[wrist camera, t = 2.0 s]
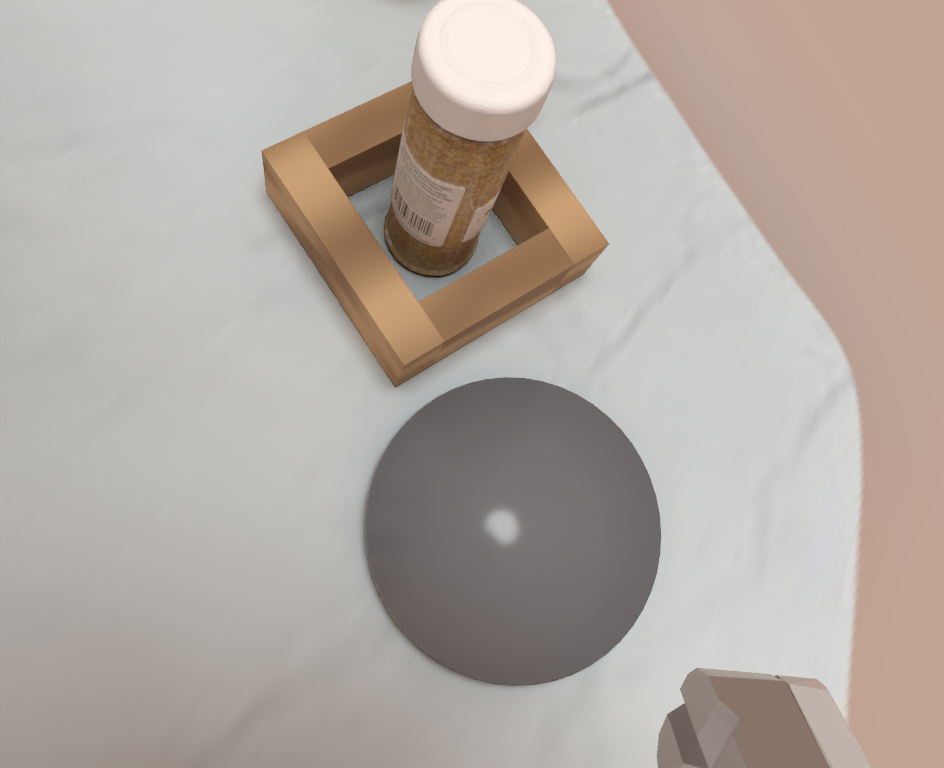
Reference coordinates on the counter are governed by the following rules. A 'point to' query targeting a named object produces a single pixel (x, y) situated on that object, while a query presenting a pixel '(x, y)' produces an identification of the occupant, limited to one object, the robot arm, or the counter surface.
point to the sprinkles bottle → (464, 126)
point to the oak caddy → (369, 269)
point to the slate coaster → (513, 531)
